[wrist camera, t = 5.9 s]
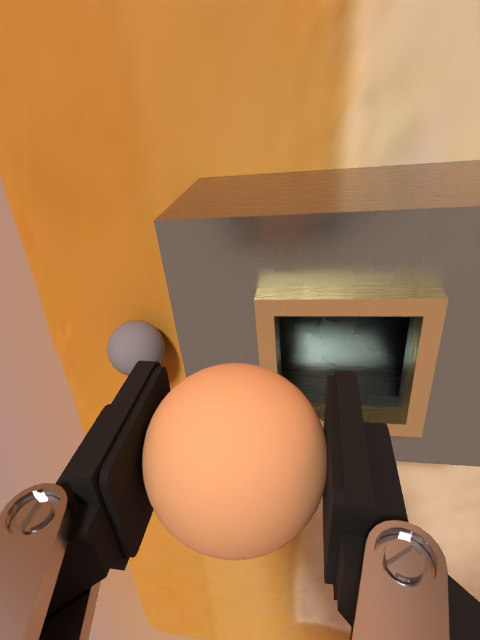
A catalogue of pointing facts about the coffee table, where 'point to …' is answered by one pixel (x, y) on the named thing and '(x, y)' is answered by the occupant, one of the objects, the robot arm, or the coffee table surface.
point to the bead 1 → (135, 345)
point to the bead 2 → (235, 461)
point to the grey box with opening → (341, 290)
